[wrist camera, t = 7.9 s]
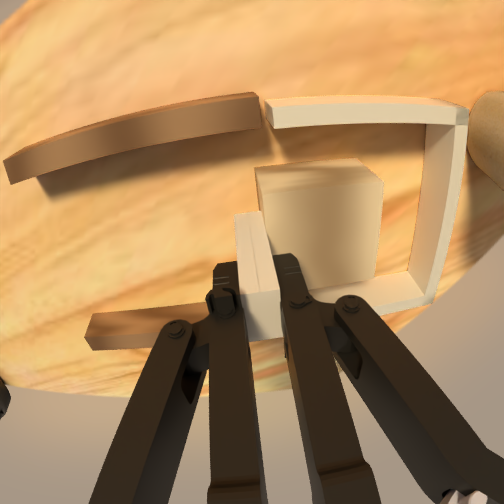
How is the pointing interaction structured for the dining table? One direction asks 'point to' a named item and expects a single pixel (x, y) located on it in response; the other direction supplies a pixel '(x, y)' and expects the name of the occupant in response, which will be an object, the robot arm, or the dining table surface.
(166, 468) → the robot arm
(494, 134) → the flower pot
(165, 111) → the slot rails
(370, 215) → the beige square block
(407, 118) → the corral
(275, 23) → the dining table surface
